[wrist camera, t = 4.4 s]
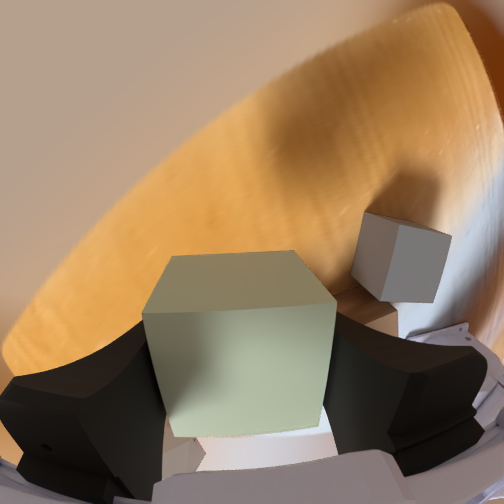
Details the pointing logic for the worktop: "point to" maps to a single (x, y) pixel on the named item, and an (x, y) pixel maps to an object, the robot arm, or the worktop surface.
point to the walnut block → (368, 310)
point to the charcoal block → (399, 259)
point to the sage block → (240, 343)
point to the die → (180, 453)
